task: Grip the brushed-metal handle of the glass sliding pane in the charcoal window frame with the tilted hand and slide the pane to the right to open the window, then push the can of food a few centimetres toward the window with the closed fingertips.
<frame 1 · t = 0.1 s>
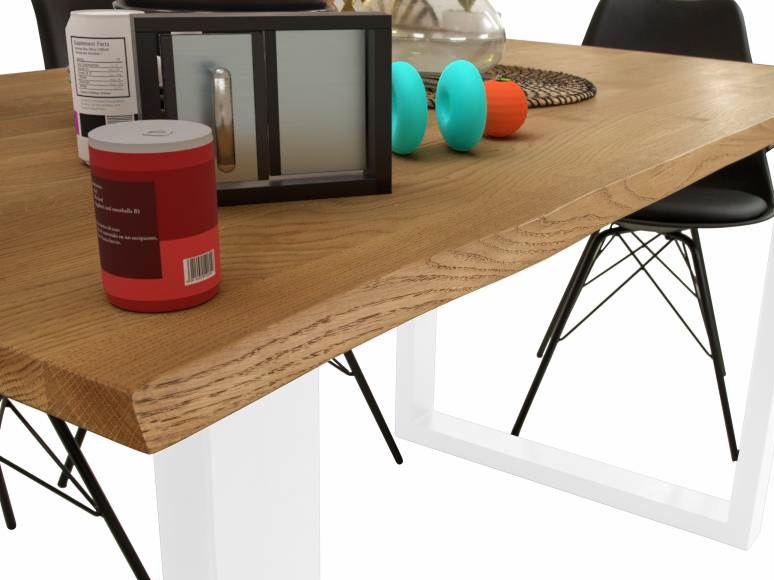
canned food: (164, 296, 68), on the table
white faucet: (195, 176, 100), on the table
supplement can: (121, 163, 105), on the table
donuts: (431, 153, 113), on the table
clementine: (499, 137, 122), on the table
window pane: (220, 113, 85), point 8 cm above the table, slide at 0.0 cm
window frame: (271, 196, 92), on the table
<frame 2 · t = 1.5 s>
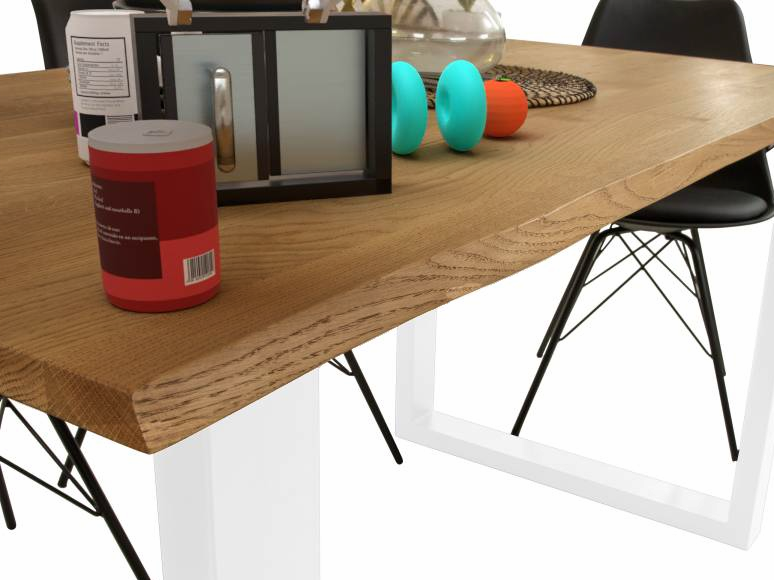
hand: (247, 17, 70), 17 cm above the table, tool tilted 45°, fingers open, 8 cm apart
nothing on the table moved.
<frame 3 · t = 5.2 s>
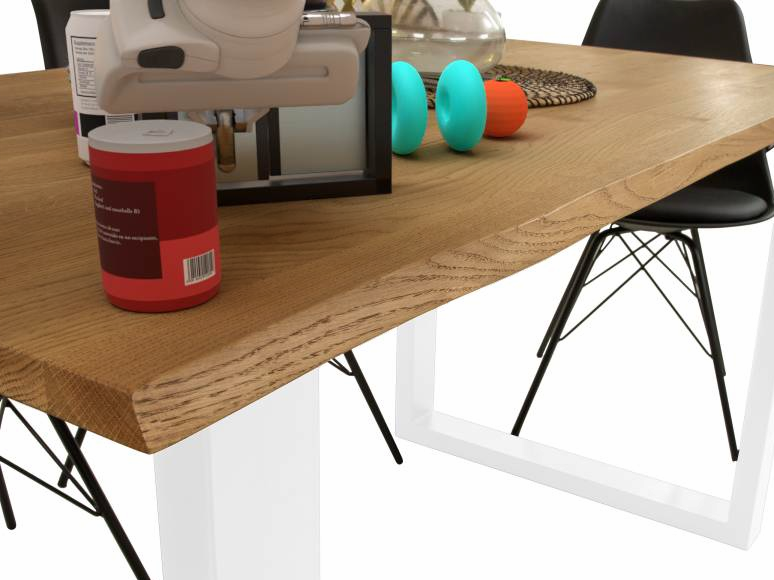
hand: (222, 127, 85), 7 cm above the table, tool tilted 45°, fingers closed on window pane, 2 cm apart
window pane: (220, 113, 85), point 8 cm above the table, slide at 0.0 cm, touching gripper
everything else where it was.
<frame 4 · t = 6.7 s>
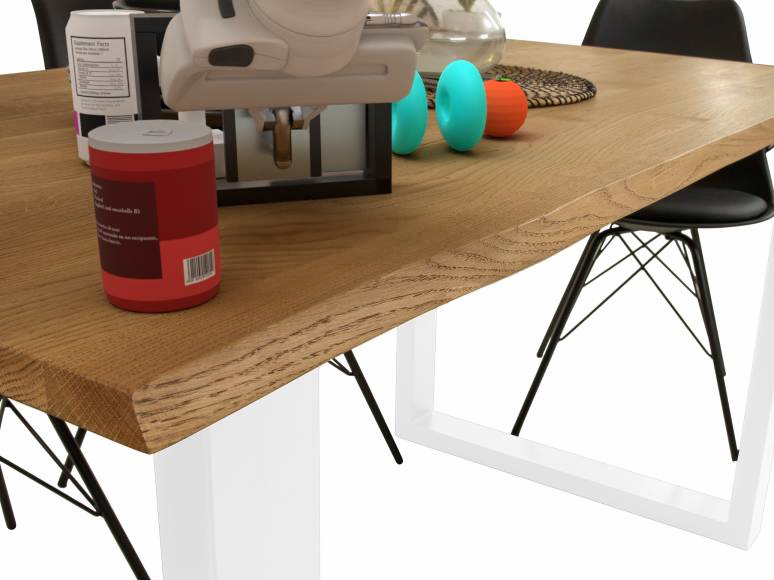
hand: (279, 124, 86), 7 cm above the table, tool tilted 45°, fingers closed on window pane, 2 cm apart
window pane: (276, 111, 87), point 8 cm above the table, slide at 4.9 cm, touching gripper
everything else where it was.
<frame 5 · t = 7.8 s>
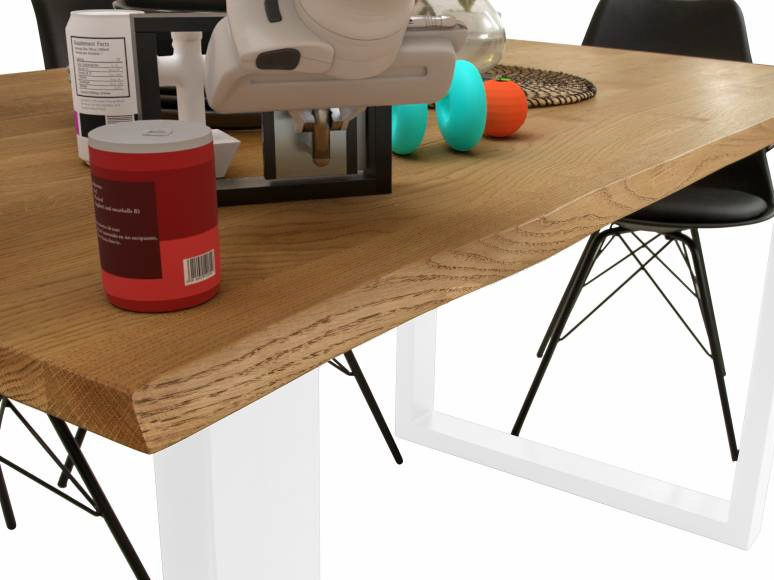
hand: (318, 125, 88), 7 cm above the table, tool tilted 45°, fingers closed on window pane, 2 cm apart
window pane: (315, 109, 88), point 8 cm above the table, slide at 8.3 cm, touching gripper
everything else where it was.
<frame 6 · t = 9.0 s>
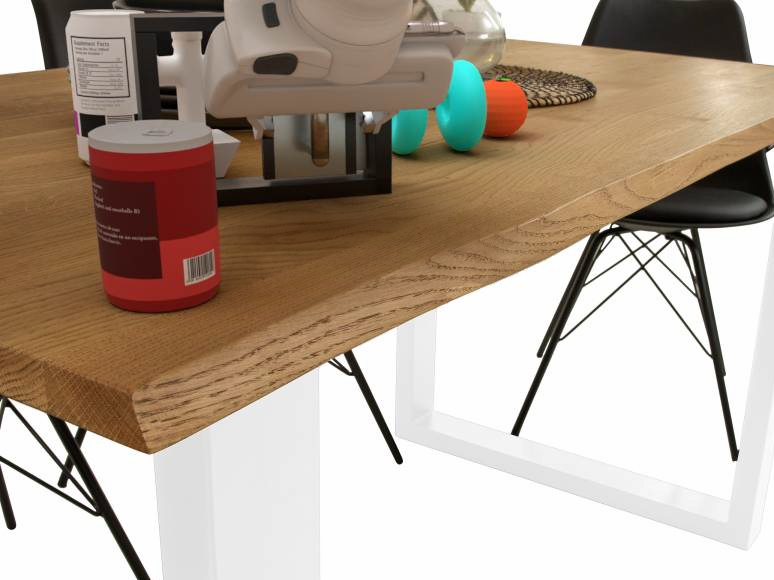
hand: (315, 130, 88), 7 cm above the table, tool tilted 45°, fingers open, 8 cm apart
window pane: (314, 109, 88), point 8 cm above the table, slide at 8.2 cm
everything else where it was.
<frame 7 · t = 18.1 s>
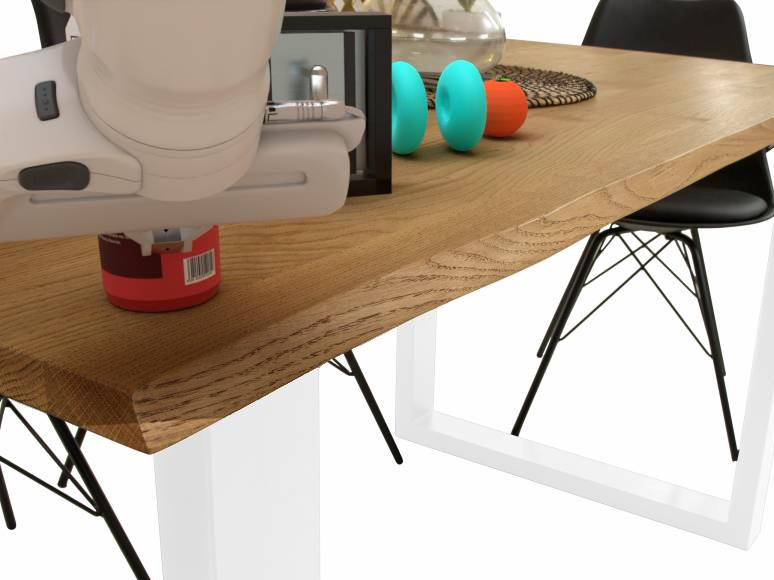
hand: (165, 244, 62), 5 cm above the table, tool tilted 45°, fingers closed, pressing on canned food
canned food: (164, 295, 68), on the table, touching gripper
everything else where it was.
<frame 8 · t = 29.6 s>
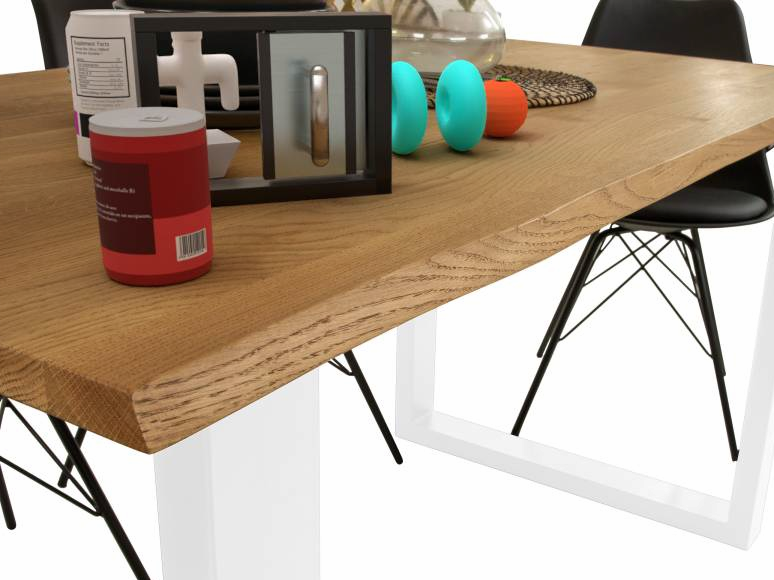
canned food: (160, 271, 72), on the table
everything else where it was.
at the end: window pane slide at 8.2 cm; canned food 21.9 cm from the window frame (horizontally); canned food tilted 0° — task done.
